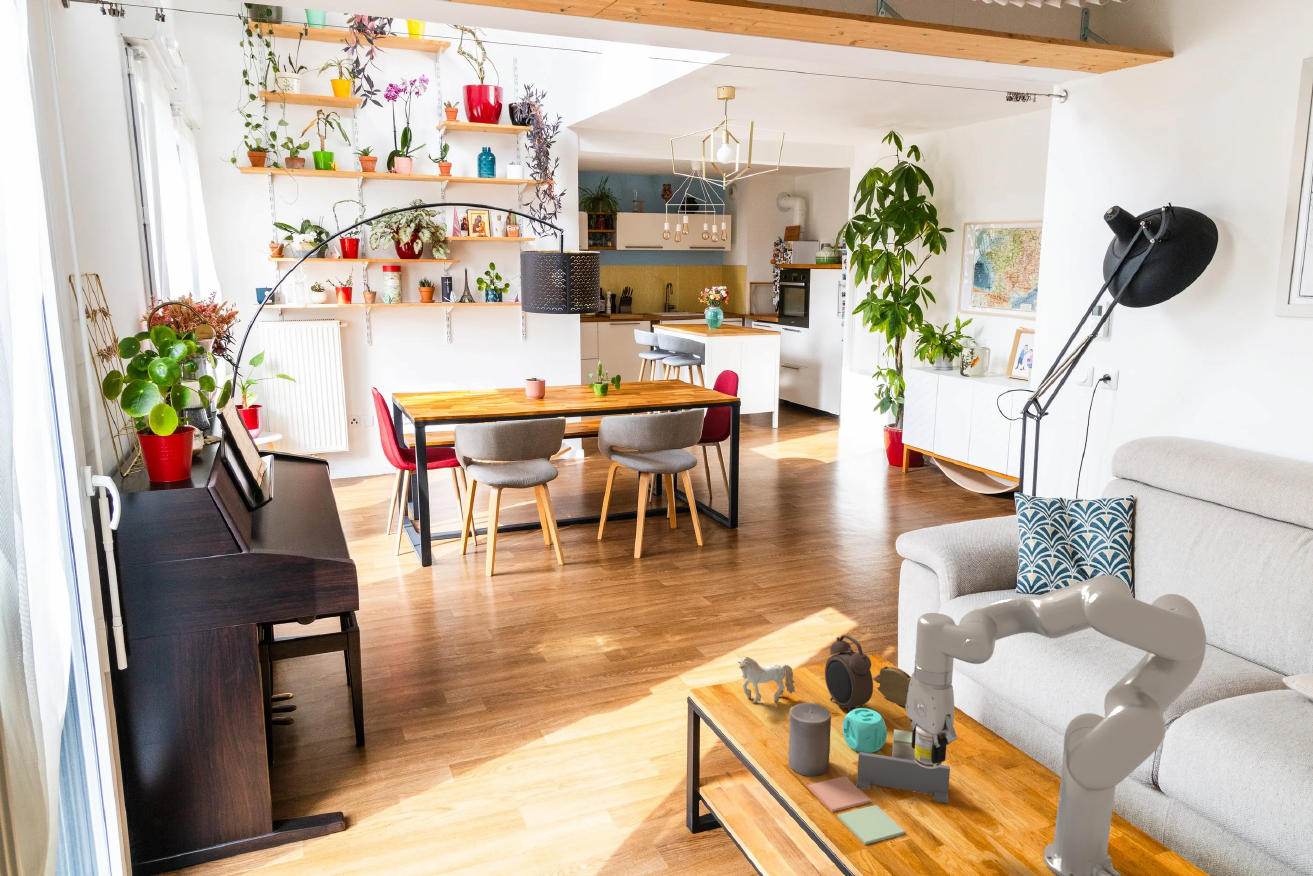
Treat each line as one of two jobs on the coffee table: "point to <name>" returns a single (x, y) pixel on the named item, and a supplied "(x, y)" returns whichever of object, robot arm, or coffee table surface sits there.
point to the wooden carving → (893, 684)
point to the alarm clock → (848, 674)
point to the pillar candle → (809, 739)
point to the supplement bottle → (924, 748)
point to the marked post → (903, 745)
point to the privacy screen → (902, 775)
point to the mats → (862, 822)
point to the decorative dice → (864, 730)
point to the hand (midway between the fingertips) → (928, 753)
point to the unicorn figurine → (765, 677)
